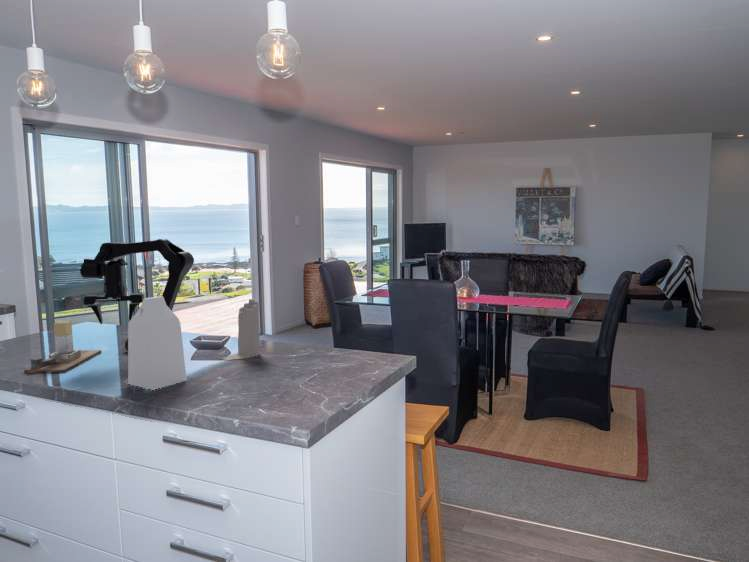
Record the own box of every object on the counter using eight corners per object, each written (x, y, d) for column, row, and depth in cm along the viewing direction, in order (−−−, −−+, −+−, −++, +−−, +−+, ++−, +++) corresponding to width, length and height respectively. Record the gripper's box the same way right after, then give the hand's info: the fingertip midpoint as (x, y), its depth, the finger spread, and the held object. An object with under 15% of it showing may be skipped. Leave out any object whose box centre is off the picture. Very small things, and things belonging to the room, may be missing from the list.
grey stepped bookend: (218, 357, 201) (216, 302, 199) (253, 351, 210) (252, 298, 208) (228, 361, 196) (226, 304, 194) (263, 355, 205) (262, 300, 203)
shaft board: (101, 352, 209) (100, 342, 209) (65, 372, 183) (64, 360, 183) (65, 353, 209) (64, 342, 208) (24, 373, 183) (23, 360, 182)
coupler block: (73, 357, 198) (71, 321, 196) (68, 360, 194) (65, 323, 192) (62, 358, 198) (59, 321, 196) (56, 361, 194) (53, 323, 192)
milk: (152, 390, 164) (148, 301, 161) (128, 384, 170) (123, 298, 167) (186, 380, 174) (182, 296, 171) (162, 374, 180) (158, 293, 177)
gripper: (145, 275, 206) (147, 317, 207) (89, 276, 201) (92, 320, 203) (140, 278, 195) (143, 323, 197) (81, 280, 190) (84, 326, 192)
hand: (115, 323), depth 197 cm, fingers open, 9 cm apart
